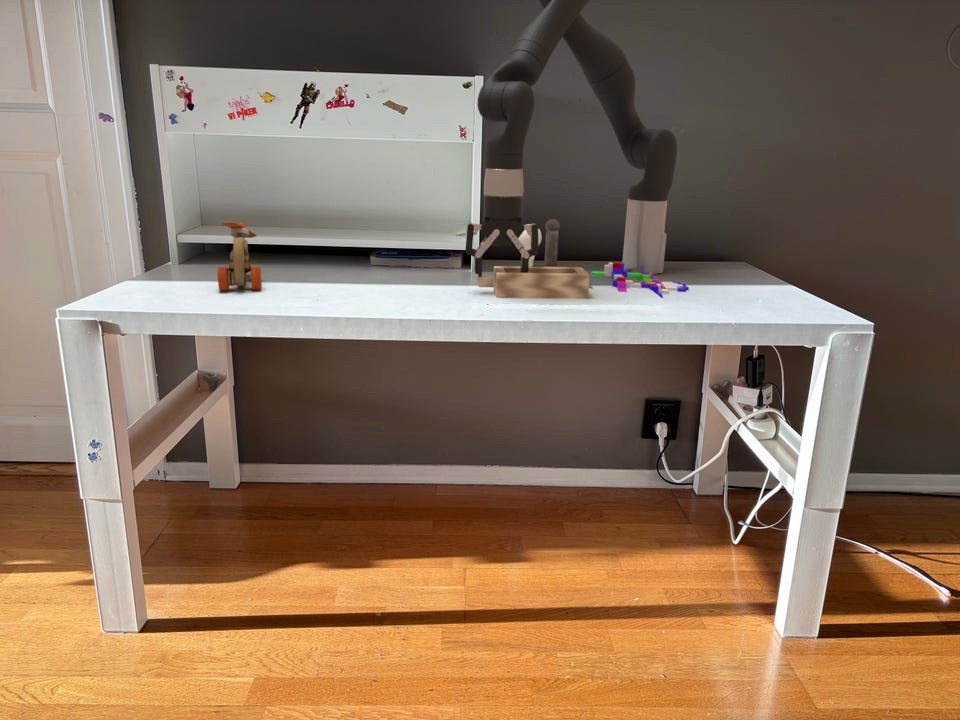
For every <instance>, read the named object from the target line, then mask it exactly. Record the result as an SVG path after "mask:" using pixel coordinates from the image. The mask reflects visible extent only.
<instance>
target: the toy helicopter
mask: <svg viewBox="0 0 960 720" xmlns="http://www.w3.org/2000/svg"><path fill="white" fill-rule="evenodd" d="M221 225H223V226H226V227H228V228H229V229H230V231H229V233H230V236H231V237H233V241H232V242H233V244H232V245H233V246H232V250H231V252H230V254H229V258H230V263H228V266H218V267H217V283H218V289H219V291H220V292H228V291H229V289H230V287H233V286H238V287H239V286H242V287H243V286H245V285H247V282H250V283H251V284H250V285H251V289H252V290H253V291H259V290H262V287H263V286H262V285H263V284H262V271H261V270H262V269H261V267H260V266H259V265H252V266H251V264H250V263H248V262H249V259H250V254H249V247H248V246H249V245H248V244H249V243H248V240H247V239H248V238H249V239H250V238H251V239H252V238H255V237H257V236H258V235H257V234H256V233H255V232H253V231H251V230H249V229H248V228H247V227H246V225H245V224H244V223H242V222H234V221H224V222H221ZM246 238H247V239H246ZM248 273H250V275H247V274H248Z"/></svg>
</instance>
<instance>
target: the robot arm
mask: <svg viewBox="0 0 960 720" xmlns="http://www.w3.org/2000/svg"><path fill="white" fill-rule="evenodd" d="M538 1H539V3H540V6H541V7H542V9H543V10H542V11H541V12H540V13H539V14H538V15H537V16H536V17H535V18H534V19H533V20H532V21H531V22H530V23H529V24H528V25H527V27H526V28H525V29H524V30H523V31H522V32H521V34H520V36H518V38H517V40H516V42H515V44H514V45H513V47H512V49H511V51H510V53H509V54H508V56H507V58H506V60H505V61H504V62H503V63H502V64H501V65H500V66H498V68H497V69H496V70H495V71H494V72H493V73H492V74H491V75H490V76H489V77H488V78H487V79H486V80H485V82H484V83H483V85H482V86H481V88H480V90H479V92H478V96H477V110H478V112H479V115H480V116H481V118H483V119H484V120H485V121H487V122H491V123H499V122H501V123H502V122H503V123H506V126H505V128H504V130H503V132H502V133H501V134H498V135H493V136H490V137H489V138H488V139H487V140H486V144H485V145H486V146H485V172H484V179H483V214H482V215H483V218H482V219H483V220H482V223H481V224H479V223H473V222H468V223H467V225H466V226H467V227H466V237H465V238H466V240H465V254H466V255H468V256H472V257H473V258H474V273H475V274H476V275H477V277H483V257H482V256H483V254H484V253H485V252H486V251H487V250H488V248H490V247H491V246H494V247H507V248H508V247H512V246H513V245H515V248H516V249H517V250H518V251H519V253H520V254H522V255H521V257H520V267H521V270H520V273H528V269H529V258H530V257H531V256H534V255H535V256H538V254H539V248H540V247H539V246H538V229H539V225H537V224H536V223H534V222H533V223H530V224H531V225H527V224H524V223H523V208H524V207H523V201H524V192H525V190H524V189H525V188H524V174H523V170H524V169H523V168H524V167H523V163H524V145H525V141H526V139H527V135H528V131H529V127H530V124H531V121H532V118H533V114H534V110H535V103H536V102H535V95H534V92H533V89H532V88H531V87H533V86H535V85H536V84H537V82H538V81H539V80H540V77H542V76H541V75H542V74H543V72H544V70H545V68H546V66H547V64H548V62H549V61H550V59H551V56H552V54H553V52H554V50H555V49H556V47H557V46H558V44H559V42H560V41H561V39H563V40H564V41H565V43H566V44H567V46H568V48H569V49H570V51H571V53H572V54H573V56H574V58H575V60H576V62H577V63H578V66H579V67H580V69H581V70H582V73H583V75H584V76H585V79H586V80H587V83H588V85H589V86H590V88H591V90H592V91H593V93H594V95H595V97H596V98H597V100H598V103H600V106H601V108H602V109H603V111H604V113H605V115H606V118H607V119H608V121H609V122H610V125H611V127H612V129H613V132H614V134H615V136H616V139H617V141H618V143H619V146H620V149H621V151H622V153H623V155H624V157H625V160H626V162H627V163H628V164H629V165H630V166H631V167H633V168H635V169H638V170H644V173H643V178H642V179H641V180H640V181H638V183H636V184H633V185H631V186H629V188H628V192H627V203H626V204H627V205H626V206H627V207H626V217H625V229H624V230H625V231H624V240H623V242H624V243H623V250H622V251H623V252H622V261H621V263H624V270H627V273H640V272H648V273H649V274H653V275H657V274H663V273H664V265H665V255H666V254H665V253H666V245H667V236H668V235H667V233H666V232H665V226H666V217H667V209H668V199H669V193H670V191H671V188H672V185H673V183H674V182H673V181H674V177H675V168H676V162H677V156H678V143H677V138H676V136H675V134H674V133H673V131H671V130H670V129H668V128H667V129H666V128H665V129H664V128H647V127H646V126H645V125H644V124H643V122H642V120H641V118H640V116H639V114H638V112H637V109H636V106H635V98H636V85H637V84H636V77H635V73H634V71H633V69H632V67H631V63H630V62H629V59H628V58H627V56H626V54H625V53H624V51H623V50H622V48H621V47H620V46H619V45H618V44H617V43H616V42H615V41H613V40H612V39H611V38H609V37H608V36H607V35H605V34H603V33H602V32H601V31H599V30H597V28H595V27H593V25H591V24H590V23H589V22H588V21H587V20H586V19H585V18H584V16H583V15H582V14H581V12H582V11H583V9H584V8H585V7H586V6H587V4H588V3H589V1H590V0H538ZM480 230H481V233H482V235H484V236H485V237H484V239H483V240H482V241H481V243H479V246H477V249H475V248H473V246H474V245H473V243H474V236H477V235H478V232H479V231H480ZM524 230H526V231H527V234H528V235H529V236H531V249H529V250H526V249H525V248H524V246H523V245H522V243H521V242H520V241H519V239H518V238H519V237H520V236H521V234H522V233H523V231H524Z"/></svg>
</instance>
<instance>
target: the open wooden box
mask: <svg viewBox="0 0 960 720" xmlns="http://www.w3.org/2000/svg"><path fill="white" fill-rule="evenodd" d="M520 270H521V266H518V265H517V266H513V265H512V266H510V265H509V266H507V265H506V266H504V265H499V266H498V265H494V266H493V277H494V286H493V287H492V288H493V292H494V296H495V298H496V299H561V300H562V299H564V300H565V299H566V300H567V299H568V300H569V299H570V300H571V299H572V300H573V299H574V300H575V299H577V300H580V299H583V300H588V299H589V289H590V288H589V284H590V274H589V273H588V272H587V271H586V270H585V269H584V268H583V267H581V266H580V267H579V266H578V267H574V266H557V267H544V266H532V267H529V269H528V273H520Z"/></svg>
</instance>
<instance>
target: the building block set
mask: <svg viewBox="0 0 960 720" xmlns="http://www.w3.org/2000/svg"><path fill="white" fill-rule="evenodd" d="M590 275H591V276H592V277H611V279H612V283H611V284H612V288H617V291H618V292H621V293H623V292H624V293H628V290H627V288H629V289H631V288H632V289H648V290H650V291H652V292H653V293H655V294H656V295H657V296H658V297H660V298H661V299H663V294H664V295H667V294H670V291H674V292H678V293H680V292H681V293H687V291H690V290H689V286H687V285H686V283H684V282H682V283H681V281H660V279H659V278H654V274H649V273H648V272H640V273H629V272H627V270H624V263H622V262H610V261H609V262H608V264H604V271H598V270H597V271H595V270H593V271H591V273H590ZM626 278H635V279H636V280H637V281H638V282H634V281H633V280H632V279H626Z"/></svg>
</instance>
